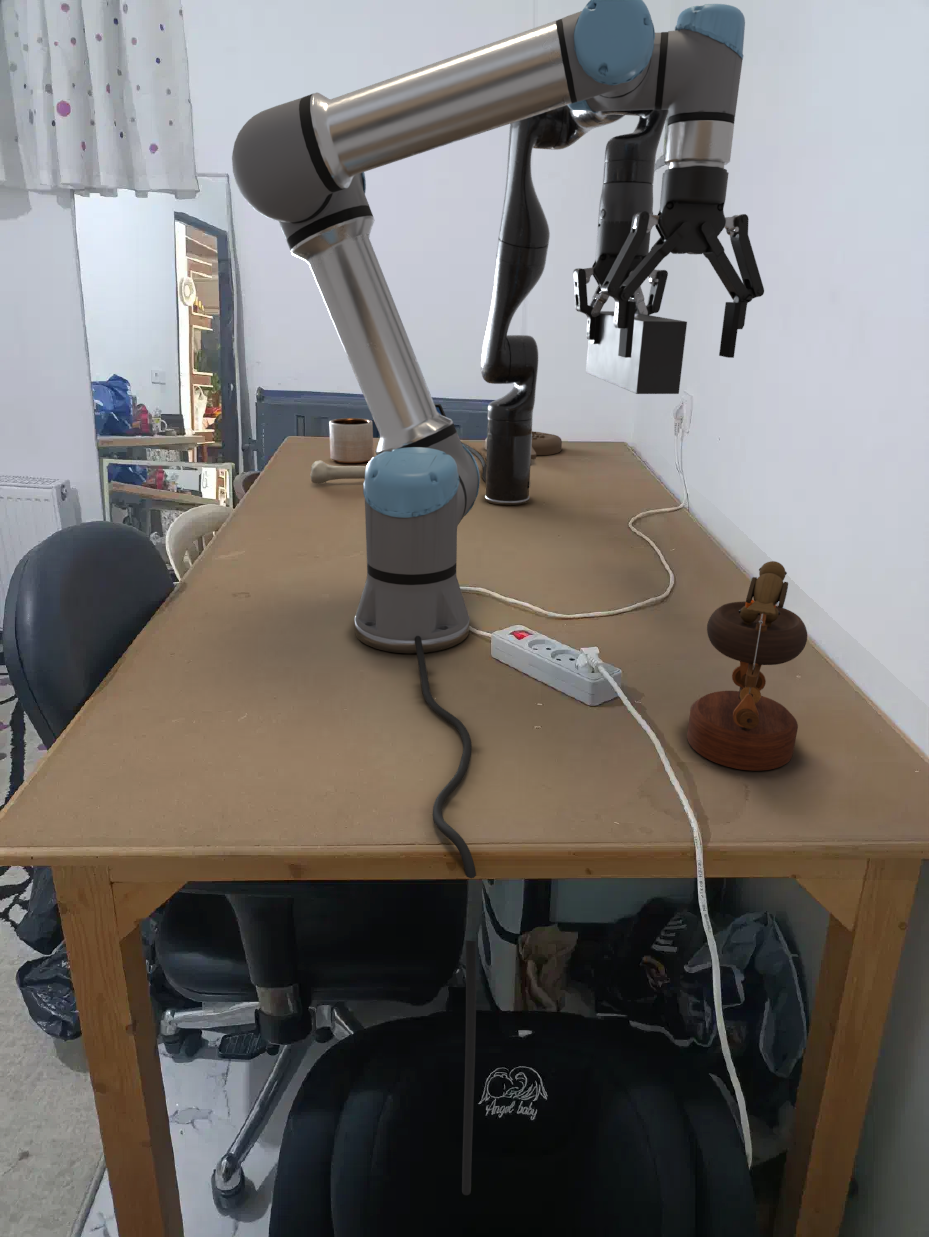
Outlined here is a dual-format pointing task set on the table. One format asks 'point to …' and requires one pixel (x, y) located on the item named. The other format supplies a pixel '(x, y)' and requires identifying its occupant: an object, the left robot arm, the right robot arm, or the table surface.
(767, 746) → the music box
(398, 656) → the table surface
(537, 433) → the ice cream bar
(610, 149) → the right robot arm
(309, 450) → the table surface
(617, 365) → the box
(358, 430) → the planter
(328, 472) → the dog toy
